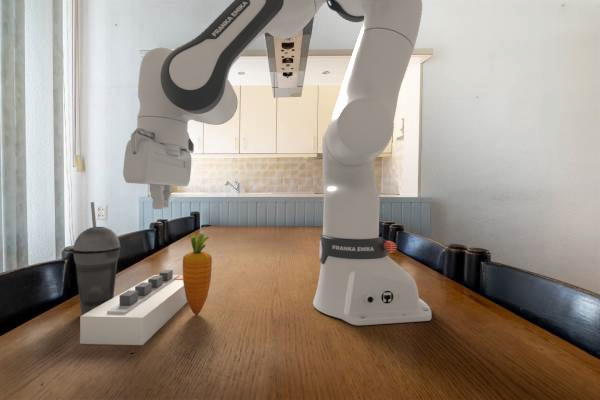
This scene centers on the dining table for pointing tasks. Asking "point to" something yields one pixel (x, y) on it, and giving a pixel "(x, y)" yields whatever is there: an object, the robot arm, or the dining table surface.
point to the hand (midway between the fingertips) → (160, 208)
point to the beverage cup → (96, 264)
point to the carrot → (197, 274)
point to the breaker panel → (135, 312)
